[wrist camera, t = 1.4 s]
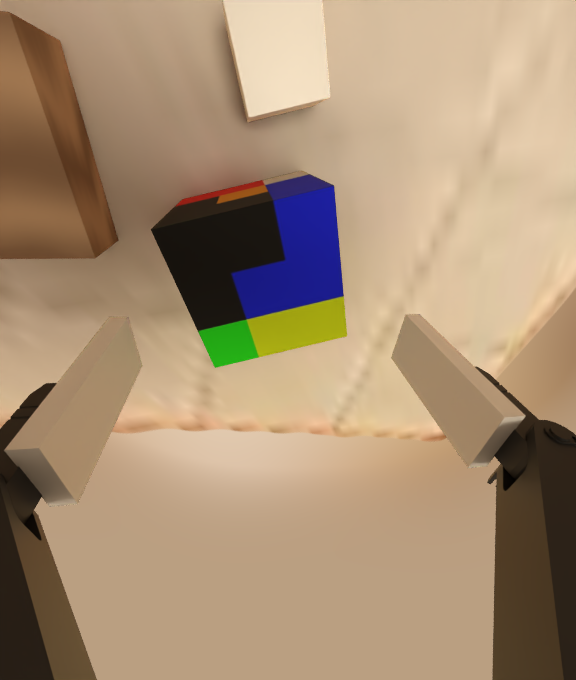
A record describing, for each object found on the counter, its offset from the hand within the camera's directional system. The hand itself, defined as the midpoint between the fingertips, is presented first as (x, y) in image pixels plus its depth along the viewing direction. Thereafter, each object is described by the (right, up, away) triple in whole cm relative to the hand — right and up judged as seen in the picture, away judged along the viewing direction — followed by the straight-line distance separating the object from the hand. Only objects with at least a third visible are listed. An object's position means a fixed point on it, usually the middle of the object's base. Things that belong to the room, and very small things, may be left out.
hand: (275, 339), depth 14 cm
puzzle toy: (-2, +9, +12) cm, 15 cm away
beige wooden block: (0, +19, +6) cm, 19 cm away
